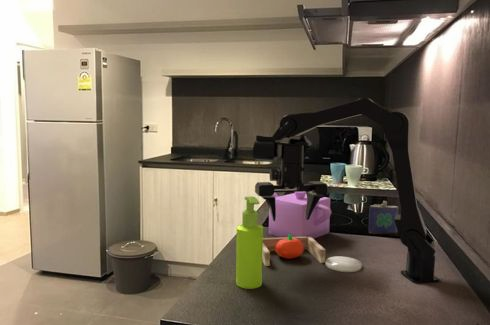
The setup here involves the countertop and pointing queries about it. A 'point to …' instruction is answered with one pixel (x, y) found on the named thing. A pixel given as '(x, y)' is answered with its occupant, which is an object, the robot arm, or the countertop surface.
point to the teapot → (299, 216)
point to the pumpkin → (289, 247)
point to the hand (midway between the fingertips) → (290, 220)
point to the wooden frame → (308, 244)
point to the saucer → (343, 264)
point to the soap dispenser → (249, 248)
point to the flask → (382, 219)
